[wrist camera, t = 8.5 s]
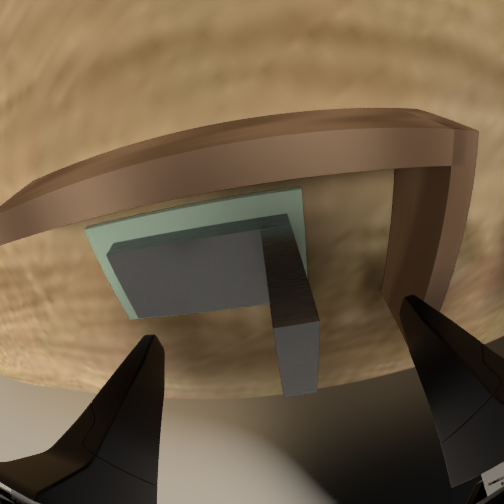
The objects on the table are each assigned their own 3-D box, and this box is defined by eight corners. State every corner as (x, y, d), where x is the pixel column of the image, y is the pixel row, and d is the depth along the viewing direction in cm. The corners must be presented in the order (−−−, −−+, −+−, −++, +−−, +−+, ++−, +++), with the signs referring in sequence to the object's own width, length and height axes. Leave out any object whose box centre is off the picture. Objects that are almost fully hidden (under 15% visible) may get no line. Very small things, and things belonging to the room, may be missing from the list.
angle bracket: (287, 213, 12) (319, 320, 7) (293, 285, 14) (317, 392, 9) (113, 242, 12) (60, 342, 8) (143, 304, 15) (115, 403, 10)
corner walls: (417, 108, 10) (478, 131, 6) (399, 289, 15) (427, 340, 12) (32, 181, 11) (-18, 221, 7) (108, 328, 16) (91, 381, 13)
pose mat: (300, 186, 12) (301, 188, 11) (307, 293, 15) (308, 297, 15) (86, 226, 12) (84, 230, 12) (131, 315, 16) (130, 319, 15)
